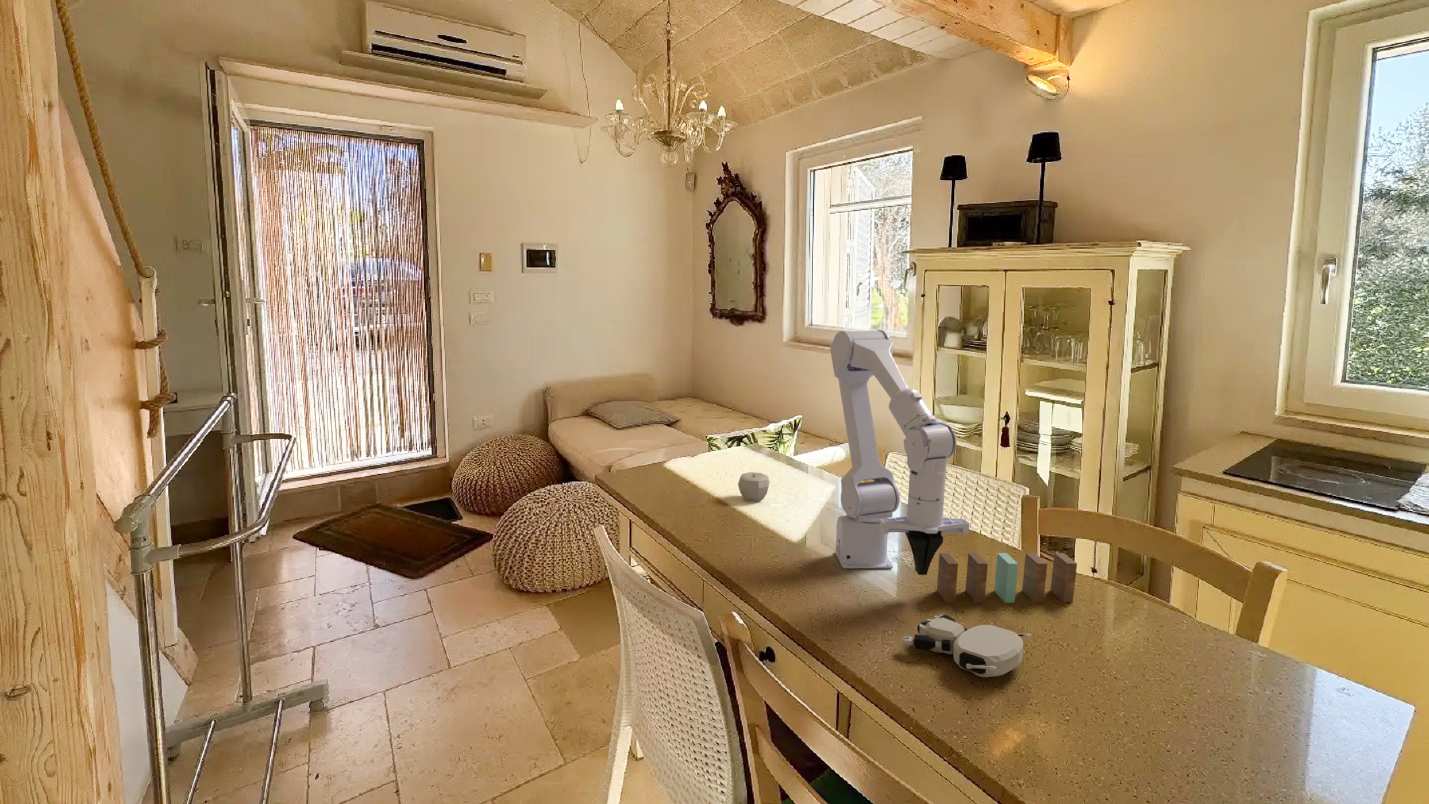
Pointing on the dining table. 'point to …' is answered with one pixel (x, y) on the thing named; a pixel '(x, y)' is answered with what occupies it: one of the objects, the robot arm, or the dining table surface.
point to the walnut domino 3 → (1034, 577)
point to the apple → (753, 486)
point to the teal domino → (1006, 577)
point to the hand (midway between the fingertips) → (921, 572)
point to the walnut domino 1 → (947, 577)
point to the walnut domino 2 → (976, 577)
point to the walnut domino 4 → (1063, 577)
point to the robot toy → (971, 645)
